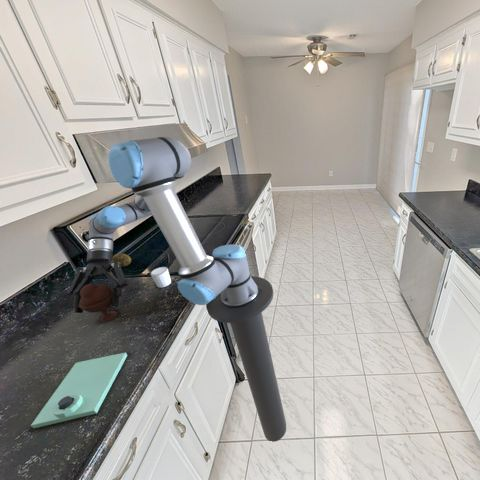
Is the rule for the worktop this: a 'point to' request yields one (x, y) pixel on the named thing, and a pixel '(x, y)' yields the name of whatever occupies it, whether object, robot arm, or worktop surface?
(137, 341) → the worktop surface
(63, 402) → the button
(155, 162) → the robot arm
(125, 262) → the potato
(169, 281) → the shot glass
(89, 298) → the ice cream bowl
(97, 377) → the scale
